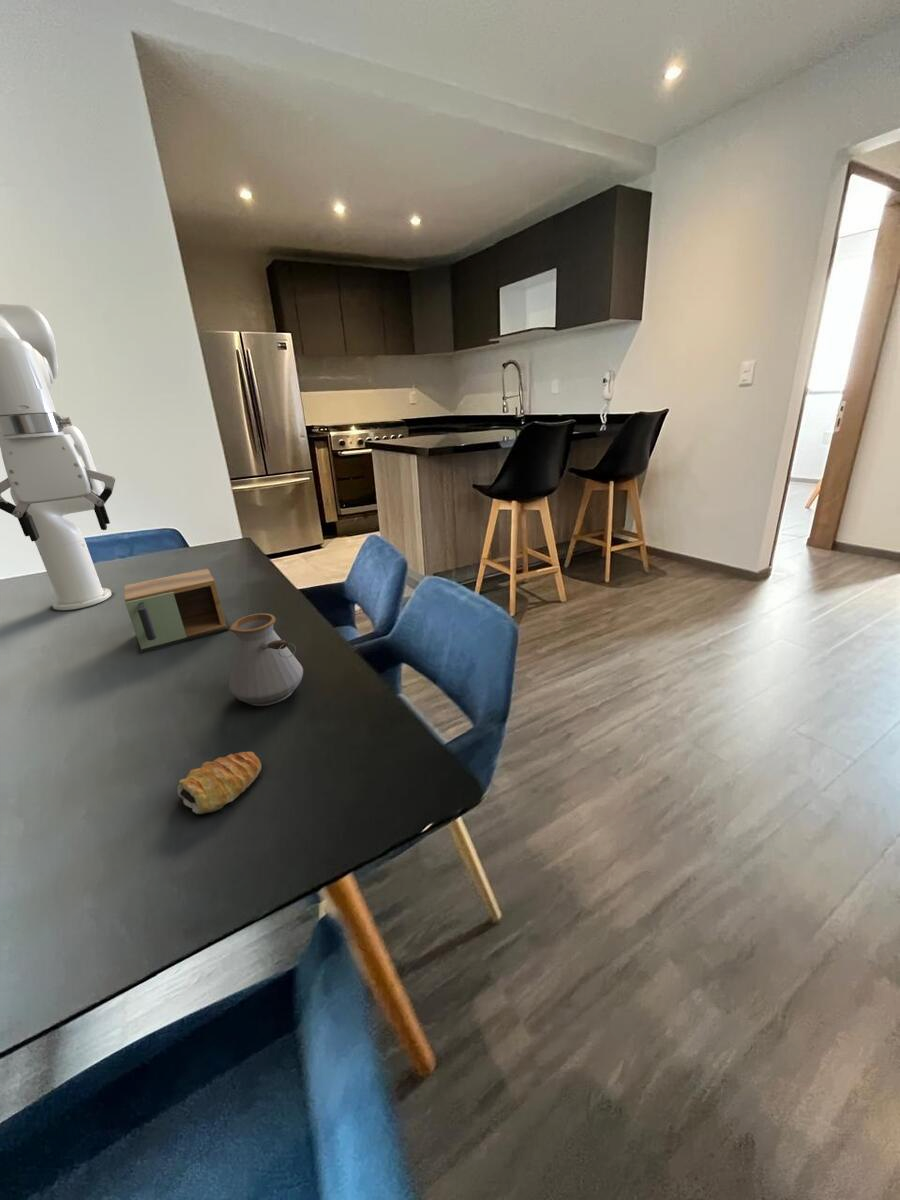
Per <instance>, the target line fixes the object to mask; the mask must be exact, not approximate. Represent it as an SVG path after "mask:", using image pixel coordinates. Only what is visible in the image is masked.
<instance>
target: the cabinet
mask: <svg viewBox="0 0 900 1200" xmlns="http://www.w3.org/2000/svg"><path fill="white" fill-rule="evenodd" d="M169 592H173V593H174V596H175V600H176V603H177V606H178V610H179V613H180V616H181V620H182V623H183V626H184V630H185V633H186V636H187V638H183V639H179V640H175V641H172V642H168V643H164V644H160V645H156V646H153V647H149V648H145V649H141V648H140V650H141V653H146V652H150V651H154V650H157V649H158V650H159V649H163V648H165V647H166V648H167V647H169V646H172V645H176V644H177V645H178V644H180V643H185V642H188V641H192V640H195V639H199V638H204V637H207V636H210V635H215V634H218V633H222V632H226V631H228V630H229V628H228V626H227V623H226V619H225V615H224V612H223V607H222V603H221V600H220V595H219V592H218V589H217V585H216V581H215V579H214V577H213V575H212V573H211V572H210V570H209V568H202V569H197V570H192V571H187V572H184V573H178V574H174V575H173V574H172V575H168V576H164V577H163V576H162V577H158V578H154V579H149V580H144V581H140V582H134V583H129V584H125V585H124V603H125V602H129V601H133V600H138V599H142V598H147V597H151V596H156V595H160V594H165V593H169Z"/></svg>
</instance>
